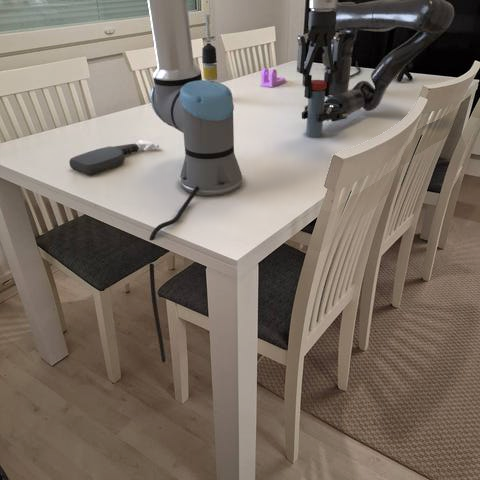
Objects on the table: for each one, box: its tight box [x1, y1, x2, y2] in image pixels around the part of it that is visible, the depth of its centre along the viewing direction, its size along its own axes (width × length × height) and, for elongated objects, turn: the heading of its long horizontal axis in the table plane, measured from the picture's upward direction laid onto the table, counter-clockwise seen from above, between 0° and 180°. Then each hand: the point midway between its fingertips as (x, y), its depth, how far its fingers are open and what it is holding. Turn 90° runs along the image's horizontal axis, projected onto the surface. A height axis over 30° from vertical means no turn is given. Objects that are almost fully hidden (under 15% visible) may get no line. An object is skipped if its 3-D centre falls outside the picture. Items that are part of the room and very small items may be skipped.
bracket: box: [260, 67, 286, 88], centre depth 197 cm, size 13×6×7 cm, turn 143°
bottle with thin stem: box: [201, 14, 218, 82], centre depth 171 cm, size 6×6×30 cm
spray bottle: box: [68, 139, 160, 177], centre depth 124 cm, size 3×11×24 cm
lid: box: [311, 79, 327, 90], centre depth 132 cm, size 5×5×2 cm
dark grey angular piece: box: [395, 59, 414, 83], centre depth 198 cm, size 11×10×15 cm
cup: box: [322, 52, 327, 71], centre depth 219 cm, size 8×7×8 cm
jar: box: [305, 89, 326, 138], centre depth 136 cm, size 5×5×15 cm
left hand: (316, 96), depth 134 cm, fingers closed on lid, 5 cm apart
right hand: (310, 117), depth 135 cm, fingers closed on jar, 5 cm apart
